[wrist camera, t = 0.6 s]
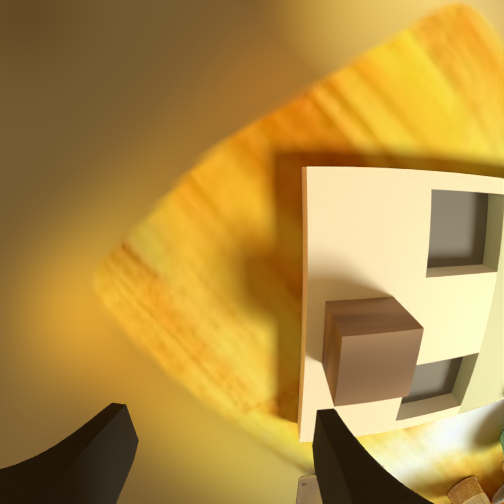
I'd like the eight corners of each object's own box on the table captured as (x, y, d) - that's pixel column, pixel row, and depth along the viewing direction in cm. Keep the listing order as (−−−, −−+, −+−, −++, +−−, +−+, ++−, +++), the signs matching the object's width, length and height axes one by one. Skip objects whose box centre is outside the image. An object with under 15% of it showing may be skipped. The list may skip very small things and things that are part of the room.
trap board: (503, 383, 21) (521, 403, 17) (297, 423, 21) (301, 457, 18) (542, 184, 16) (572, 189, 13) (301, 167, 17) (311, 165, 14)
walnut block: (384, 357, 18) (408, 395, 14) (321, 363, 18) (334, 406, 14) (393, 296, 17) (424, 328, 13) (325, 301, 17) (342, 336, 13)
